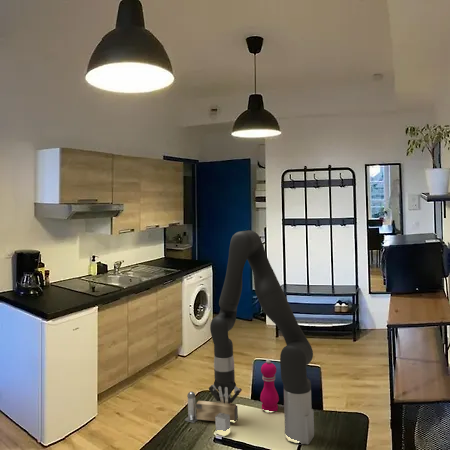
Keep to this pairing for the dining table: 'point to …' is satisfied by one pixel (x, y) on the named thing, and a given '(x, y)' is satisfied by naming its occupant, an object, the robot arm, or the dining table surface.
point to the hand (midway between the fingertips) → (225, 412)
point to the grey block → (222, 421)
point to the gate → (215, 410)
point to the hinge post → (191, 408)
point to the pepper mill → (269, 387)
